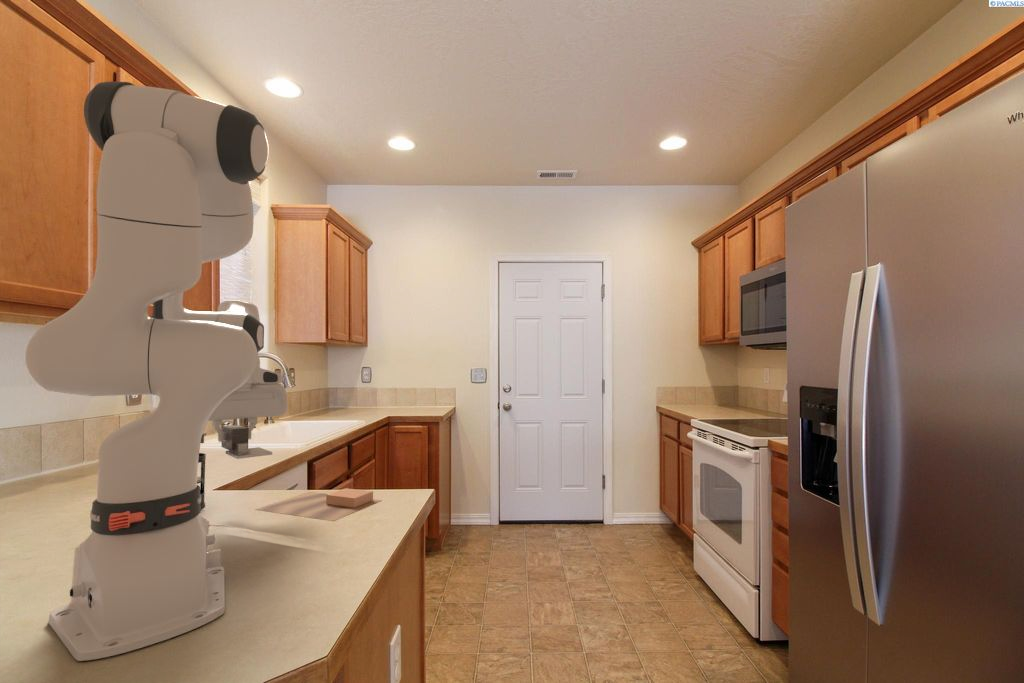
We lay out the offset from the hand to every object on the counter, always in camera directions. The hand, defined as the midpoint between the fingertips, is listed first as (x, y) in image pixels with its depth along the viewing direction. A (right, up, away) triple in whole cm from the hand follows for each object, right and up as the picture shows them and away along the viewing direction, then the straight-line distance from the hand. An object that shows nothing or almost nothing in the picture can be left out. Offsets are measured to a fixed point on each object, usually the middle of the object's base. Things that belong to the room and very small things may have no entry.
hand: (234, 440), depth 97 cm
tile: (+19, -14, +6) cm, 25 cm away
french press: (-17, -18, +6) cm, 25 cm away
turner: (+4, -1, -4) cm, 6 cm away
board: (+17, -17, +3) cm, 24 cm away
